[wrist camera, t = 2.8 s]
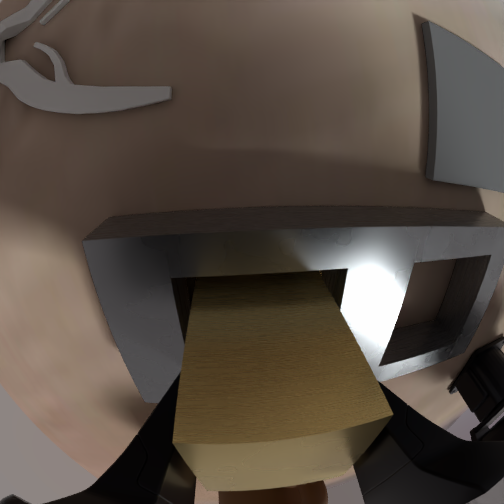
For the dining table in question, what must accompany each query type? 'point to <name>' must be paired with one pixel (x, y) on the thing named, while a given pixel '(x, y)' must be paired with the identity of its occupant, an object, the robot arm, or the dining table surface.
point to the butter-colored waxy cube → (272, 384)
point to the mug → (279, 495)
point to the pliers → (64, 76)
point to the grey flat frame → (294, 260)
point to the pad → (464, 112)
